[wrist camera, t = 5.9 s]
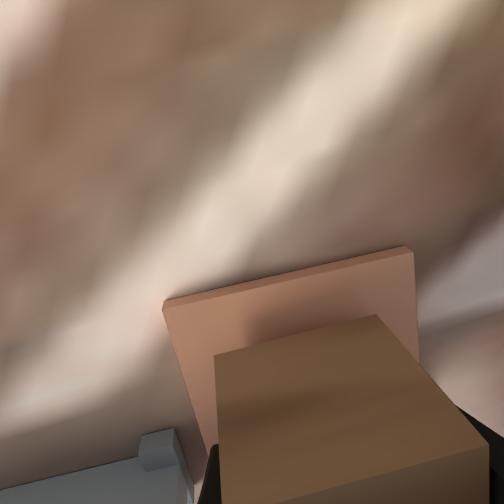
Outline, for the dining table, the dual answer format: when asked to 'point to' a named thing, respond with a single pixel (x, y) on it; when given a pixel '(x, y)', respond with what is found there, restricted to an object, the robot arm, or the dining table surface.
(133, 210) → the dining table surface
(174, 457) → the grey block with tabs
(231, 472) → the brown cube
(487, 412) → the dining table surface
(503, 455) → the robot arm
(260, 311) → the coaster
